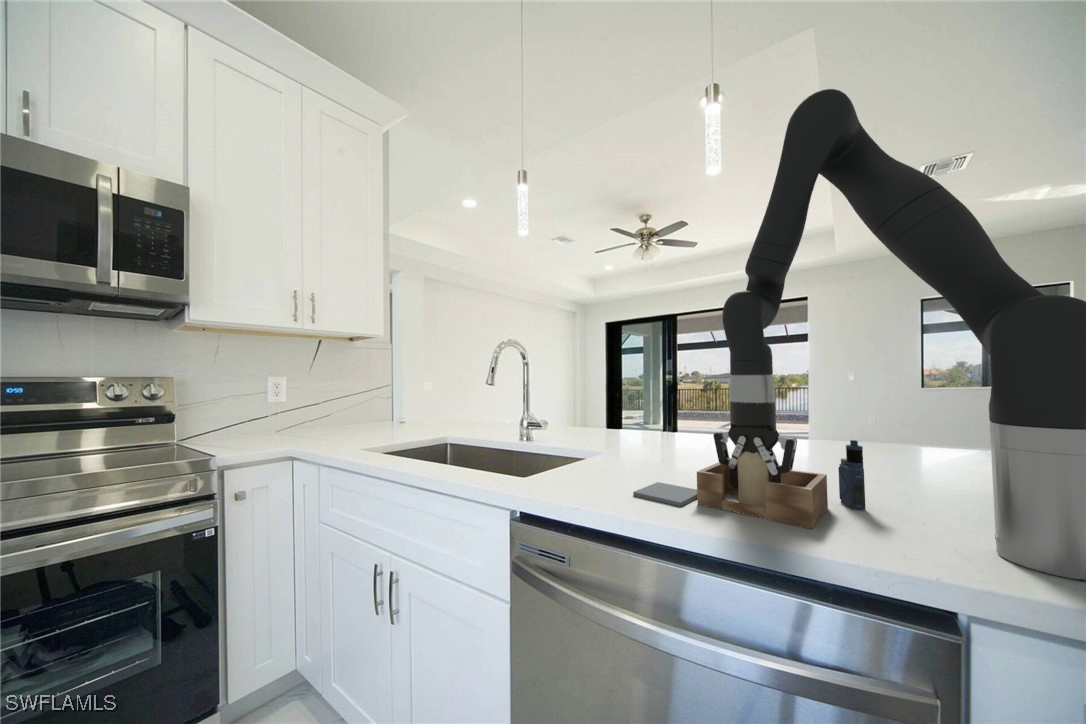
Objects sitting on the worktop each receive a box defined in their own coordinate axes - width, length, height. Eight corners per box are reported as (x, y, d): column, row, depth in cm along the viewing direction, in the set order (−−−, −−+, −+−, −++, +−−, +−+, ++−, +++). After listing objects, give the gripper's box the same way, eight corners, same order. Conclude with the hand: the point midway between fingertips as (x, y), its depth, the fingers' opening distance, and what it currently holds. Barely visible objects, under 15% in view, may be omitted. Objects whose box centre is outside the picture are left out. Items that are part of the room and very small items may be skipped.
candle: (764, 500, 76) (762, 447, 76) (778, 510, 70) (776, 453, 71) (733, 500, 76) (732, 447, 77) (745, 509, 71) (744, 453, 71)
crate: (827, 508, 71) (826, 474, 71) (812, 529, 62) (810, 489, 62) (723, 489, 84) (722, 460, 84) (697, 504, 74) (696, 471, 74)
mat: (703, 494, 80) (703, 490, 80) (681, 506, 73) (681, 502, 73) (657, 485, 87) (657, 482, 87) (633, 495, 80) (633, 491, 80)
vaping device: (851, 510, 70) (849, 441, 70) (837, 501, 75) (835, 437, 75) (869, 511, 69) (866, 442, 70) (853, 502, 74) (850, 437, 75)
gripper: (801, 399, 72) (805, 494, 71) (719, 397, 82) (722, 480, 81) (791, 402, 66) (794, 504, 66) (705, 399, 76) (707, 488, 76)
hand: (754, 491), depth 73 cm, fingers closed on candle, 5 cm apart
